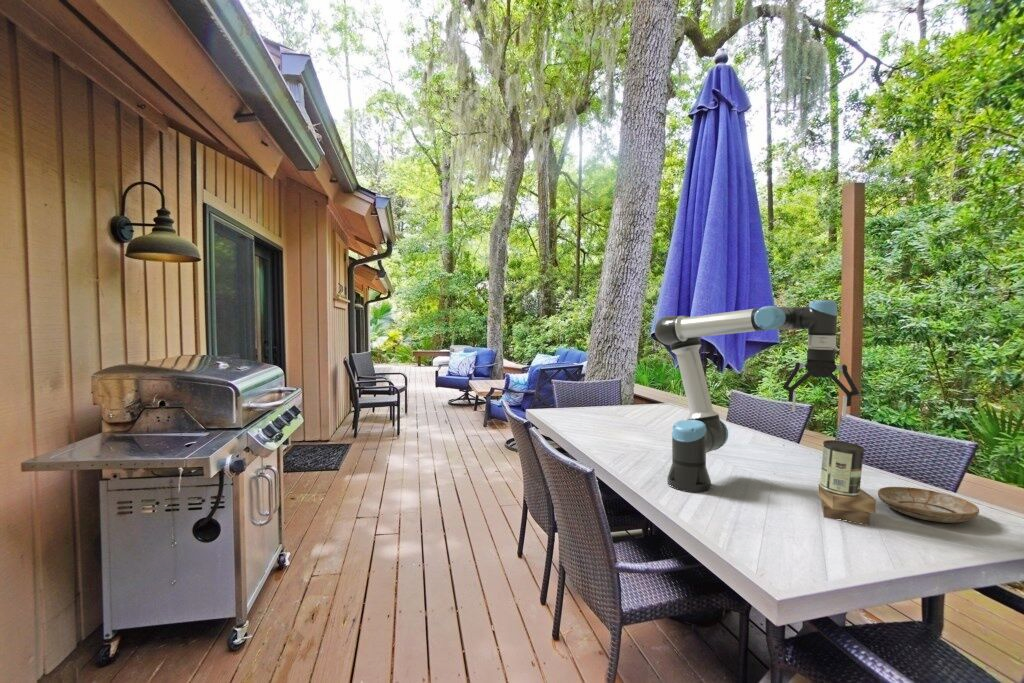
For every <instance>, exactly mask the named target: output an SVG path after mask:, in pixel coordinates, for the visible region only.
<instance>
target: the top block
mask: <svg viewBox="0 0 1024 683" xmlns="http://www.w3.org/2000/svg"><path fill="white" fill-rule="evenodd" d="M818 498H820V500H821V499H822V500H823V501H824V502H825V503H827V504H828V505H829V506H830V507H831V508H832V509H836V510H847V511H858V512H869V514H870V513H871V514H876V512H877V511H876V510H877V499H875V498H874V497H873V496H871V495H870V494H869V493H867V492H866V491H865V490H863V489H862V488H861V487H860V494H859V495H856V496H848V495H841V494H837V493H833V492H830V491H828V490H825V489H824V488H822V487H821V486H820V483H818Z"/></svg>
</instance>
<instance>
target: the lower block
mask: <svg viewBox="0 0 1024 683" xmlns="http://www.w3.org/2000/svg"><path fill="white" fill-rule="evenodd" d="M820 501H821V502H820V503H821V504H820V505H822V506H821V510H822V516H823V518H825V519H830V518H831V519H832V520H836V519H841V520H840V521H842V520H847V521H846V522H848V521H851V522H850V523H853V522H856V523H855V524H859V523H862V524H861V525H865V524H868V525H867V526H870V513H869V512H858V511H847V510H836V509H832V508H831V507H830V506H829V505H828V504H827V503H825V502H824V501H823V500H822V499H821V498H820Z"/></svg>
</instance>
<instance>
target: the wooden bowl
mask: <svg viewBox="0 0 1024 683" xmlns="http://www.w3.org/2000/svg"><path fill="white" fill-rule="evenodd" d="M877 497H878V498H879V499H880V500H881V502H882V503H884V504H885V505H886V506H888V507H889V508H891V509H892V510H895V511H897V512H899V513H901V514H904V515H906V516H908V517H909V516H910V517H912V518H916V519H919V520H924V521H929V522H935V523H944V524H945V523H948V524H950V523H951V524H952V523H962V522H963V523H964V522H966V521H970V520H973V519H975V518H976V517H977V516H978V515H979V513H980V508H979V507H978V506H977V505H976V504H975V503H973V502H971V501H969V500H966V499H964V498H961V497H958V496H954V495H952V494H948V493H944V492H939V491H935V490H931V489H924V488H920V487H919V488H917V487H908V486H907V487H906V486H885V487H881V488H879V489H878V491H877Z"/></svg>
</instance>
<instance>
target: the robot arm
mask: <svg viewBox="0 0 1024 683" xmlns="http://www.w3.org/2000/svg"><path fill="white" fill-rule="evenodd" d="M838 315H839V314H838V304H837V302H836V301H835V300H811V301H810V302H809V304H808V306H800V307H799V306H776V305H767V306H766V305H765V306H761V307H757V308H751V309H750V308H749V309H742V310H735V311H734V310H733V311H727V312H719V313H712V314H705V315H704V314H703V315H698V316H689V315H667V316H664V317H661V318H660V319H658V321H657V322H656V324H655V326H654V334H655V337H656V339H657V340H658V341H659V342H660V343H662V344H664V345H666V346H669V347H670V350H671V353H673V354H674V355H675V356H676V359H677V364H678V367H679V372H680V377H681V380H682V385H683V388H684V393H685V394H684V395H685V397H686V402H687V406H688V410H689V415H688V416H687V419H686V420H684V419H681V420H678V421H676V422H675V423H673V426H672V431H671V441H672V442H671V444H672V446H671V448H672V449H671V451H672V452H671V455H672V456H671V457H672V458H671V459H672V460H671V461H672V462H671V466H670V469H669V472H668V475H667V476H666V479H667V480H666V482H668V483H667V485H668V484H669V485H671V486H673V487H675V488H678V489H681V490H680V491H682V490H685V491H684V492H688V491H691V492H692V493H703V492H708V491H710V490H711V488H712V481H711V478H710V474H709V472H708V469H707V453H710V452H713V451H717V450H719V449H720V448H722V447H723V446H725V445H726V443H727V442H728V439H729V429H728V427H727V425H726V424H725V423H724V422H723V421H722V420H721V419H720V415H719V414H720V413H719V412H717V411H716V410H714V409H713V408H714V407H713V405H712V400H711V395H710V391H709V388H708V385H707V384H708V383H707V379H706V376H705V372H704V368H703V363H702V360H701V356H700V353H699V352H700V349H701V347H702V343H701V339H702V337H713V336H722V335H723V336H724V335H733V334H743V333H750V332H751V333H753V332H763V331H775V330H776V331H777V330H802V331H803V330H805V331H806V330H807V348H808V349H806V351H807V352H806V362H805V363H803V362H799V361H796V362H795V364H794V368H793V370H792V371H791V373H790V375H789V376H788V377H787V379H786V381H785V382H784V384H783V386H782V389H783V390H786V391H787V392H788V401H789V402H792V407H791V408H792V409H791V412H793V413H795V412H796V397H797V395H796V394H797V393H796V389H797V388H798V387H799V386H801V385H802V384H803V383H804V382H805V381H806V380H807V379H809V378H810V377H811V376H812V377H814V378H823V379H826V378H830V379H831V380H832V381H833V382H834V383H835V384H836V385H837V387H839V388H840V389H841V390H842V391H843V393H845V395H843V396H842V417H843V418H846V417H847V407H852V406H851V405H852V397H853V396H859V395H860V392H859V389H858V388H857V387H856V384H855V382H854V381H853V379H852V377H851V376H850V374H849V372H848V366H847V365H846V363H845V364H838V365H837V364H836V349H835V348H837V347H836V346H837V344H836V343H837V324H838ZM803 368H805V370H807V372H805V374H804V375H803V376H801V377H800V378H799V379H797V381H795V382H794V383H793V384H792V385H791V386H790V384H791V383H792V381H793V379H794V378H795V377H796V375H797V374H798V373H799V371H800V370H802V369H803ZM837 369H838V371H839V372H841V373H842V374H843V376H844V378H845V380H846V382H847V384H848V385H849V387H850V389H851V390H849V389H848V388H847V387H846V386H845V385H844V384H843V383H842V382H841V380H839V378H837V377H836V376H835V374H834V372H835V371H836V370H837ZM669 485H668V486H669ZM671 486H670V487H671ZM673 487H672V488H673ZM675 488H674V489H675ZM678 489H677V490H678ZM691 492H690V493H691Z"/></svg>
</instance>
